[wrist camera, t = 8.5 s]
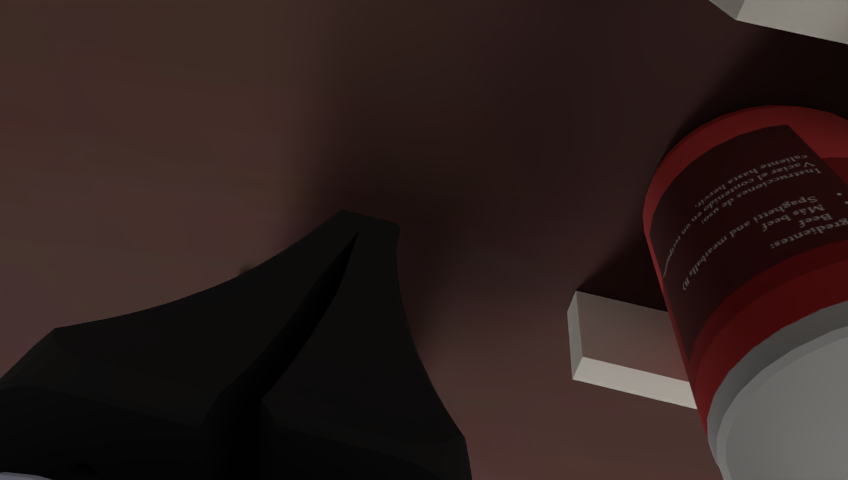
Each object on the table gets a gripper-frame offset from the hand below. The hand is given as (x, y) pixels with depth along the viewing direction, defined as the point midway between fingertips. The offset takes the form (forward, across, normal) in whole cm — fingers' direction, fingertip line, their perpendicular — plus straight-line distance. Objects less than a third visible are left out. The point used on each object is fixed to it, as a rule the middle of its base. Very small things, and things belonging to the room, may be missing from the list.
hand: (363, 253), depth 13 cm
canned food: (+10, -12, 0) cm, 16 cm away
